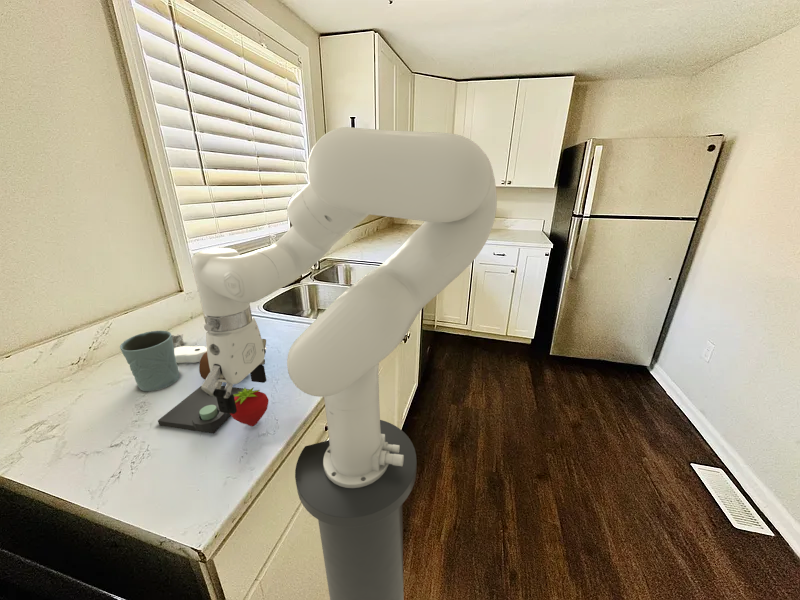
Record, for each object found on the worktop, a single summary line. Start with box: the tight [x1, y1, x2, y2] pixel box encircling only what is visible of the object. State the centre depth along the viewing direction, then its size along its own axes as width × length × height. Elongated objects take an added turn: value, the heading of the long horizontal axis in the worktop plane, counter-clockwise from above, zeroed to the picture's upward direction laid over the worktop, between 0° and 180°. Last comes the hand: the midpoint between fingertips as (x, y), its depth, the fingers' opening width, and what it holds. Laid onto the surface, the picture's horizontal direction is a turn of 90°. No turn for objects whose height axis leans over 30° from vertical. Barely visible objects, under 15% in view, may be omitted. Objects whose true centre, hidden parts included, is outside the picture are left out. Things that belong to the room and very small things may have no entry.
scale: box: [157, 385, 251, 435], centre depth 72 cm, size 14×14×3 cm
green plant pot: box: [119, 330, 180, 392], centre depth 80 cm, size 10×10×12 cm
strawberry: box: [230, 387, 269, 427], centre depth 66 cm, size 6×8×10 cm
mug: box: [198, 352, 248, 381], centre depth 85 cm, size 12×8×9 cm
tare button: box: [199, 405, 218, 420], centre depth 66 cm, size 3×3×2 cm
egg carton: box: [171, 334, 185, 348], centre depth 96 cm, size 11×8×4 cm
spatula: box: [174, 345, 267, 364], centre depth 92 cm, size 28×6×3 cm, turn 92°
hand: (244, 395), depth 65 cm, fingers open, 9 cm apart
